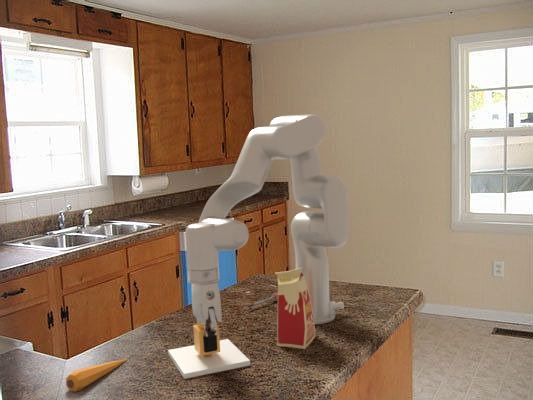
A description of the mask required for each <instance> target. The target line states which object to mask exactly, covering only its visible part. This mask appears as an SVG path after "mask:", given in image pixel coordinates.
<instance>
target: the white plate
mask: <svg viewBox="0 0 533 400" xmlns="http://www.w3.org/2000/svg"><path fill="white" fill-rule="evenodd" d="M167 353H168V354H167V355H168V357H169V358H170V360H171V362H173V364H174V365H175V367H176V368H177V370H178V371H179V373H180V375H181V377H183V379H184V380H187V379H191V378H195V377H199V376H200V377H201V376H205V375H209V374H216V373H220V372H224V371H230V370H234V369H239V368H245V367H248V366H251V360H250V359H249V358H248V357H247V356H246V355H245V354H244V353H243V352H242V351H241V350H240V349H239V348H238V347H237V346H236V345H235V344H234V343H233V342H231V340H230V339H228V338H225V339H220V352H217V353H212V354H207V355H202V356H200V355H199V354H198V352H197V351H196V350H195V347H194V344H193V345H188V346H187V345H186V346H182V347H177V348H176V347H175V348H172V349H167Z"/></svg>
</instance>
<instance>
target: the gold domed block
mask: <svg viewBox="0 0 533 400" xmlns="http://www.w3.org/2000/svg"><path fill="white" fill-rule="evenodd" d="M206 322H207V323H209V322H210V321H209V320H207V321H206ZM209 327H210V325H209V326H207V330H208V328H209ZM192 328H193V342H194V343H193V345H194V347H195V350H196V351H197V352H198V354H199V355H200V356H202V355H207V354H212V353H217V352H220V340H221V339H220V328H219V326H217V330H216V331H217V350H216V351H212V352H207V353H206V352H204V341H203V336H205V334H204V326H203V324H202V323H201V322H200V321H198V325H197V324H194V325H192Z"/></svg>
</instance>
